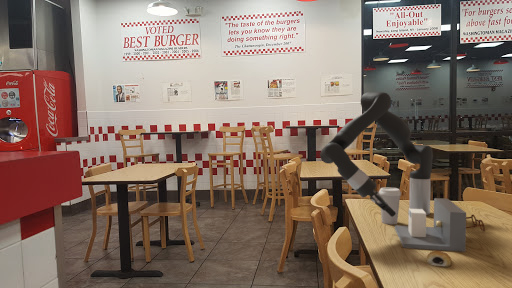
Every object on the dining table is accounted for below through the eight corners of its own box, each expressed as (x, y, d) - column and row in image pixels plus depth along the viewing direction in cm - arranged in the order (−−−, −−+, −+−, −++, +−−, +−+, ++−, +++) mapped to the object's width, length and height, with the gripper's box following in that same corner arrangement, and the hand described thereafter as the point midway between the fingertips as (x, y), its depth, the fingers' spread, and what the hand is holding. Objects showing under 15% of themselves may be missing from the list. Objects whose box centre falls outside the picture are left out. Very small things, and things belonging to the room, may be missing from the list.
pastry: (429, 255, 125) (430, 244, 125) (452, 259, 122) (453, 248, 122) (426, 265, 117) (426, 253, 117) (450, 269, 114) (450, 257, 114)
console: (394, 228, 156) (395, 196, 155) (446, 231, 151) (447, 198, 151) (403, 247, 133) (403, 210, 132) (465, 251, 128) (466, 212, 127)
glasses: (485, 233, 150) (486, 221, 149) (450, 232, 152) (450, 220, 152) (473, 224, 163) (473, 213, 162) (441, 223, 165) (441, 212, 165)
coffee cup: (400, 220, 169) (400, 187, 168) (401, 226, 160) (401, 191, 159) (378, 218, 172) (378, 186, 171) (378, 224, 163) (378, 190, 162)
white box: (407, 231, 147) (408, 208, 146) (422, 231, 146) (422, 209, 145) (410, 236, 140) (411, 212, 140) (425, 237, 139) (426, 213, 138)
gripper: (369, 178, 140) (403, 212, 137) (367, 173, 152) (399, 204, 150) (354, 192, 141) (388, 226, 139) (353, 186, 154) (385, 217, 152)
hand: (393, 214), depth 145 cm, fingers closed
